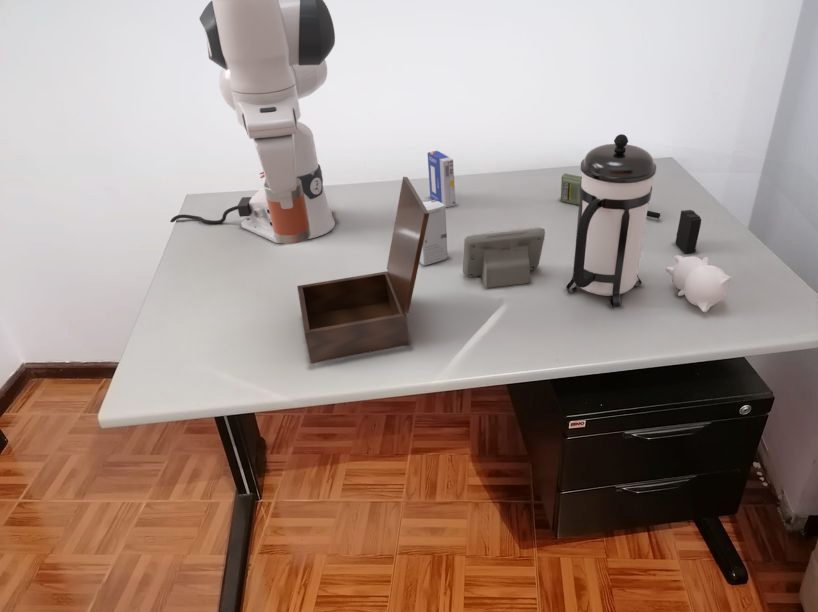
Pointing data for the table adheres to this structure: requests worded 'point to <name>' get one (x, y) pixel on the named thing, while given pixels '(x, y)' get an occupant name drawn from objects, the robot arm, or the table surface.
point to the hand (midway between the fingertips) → (285, 198)
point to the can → (289, 216)
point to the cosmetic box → (434, 234)
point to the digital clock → (503, 255)
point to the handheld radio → (572, 188)
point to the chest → (352, 316)
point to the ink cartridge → (688, 231)
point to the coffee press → (612, 218)
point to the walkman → (441, 178)
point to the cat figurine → (699, 281)
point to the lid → (407, 243)
